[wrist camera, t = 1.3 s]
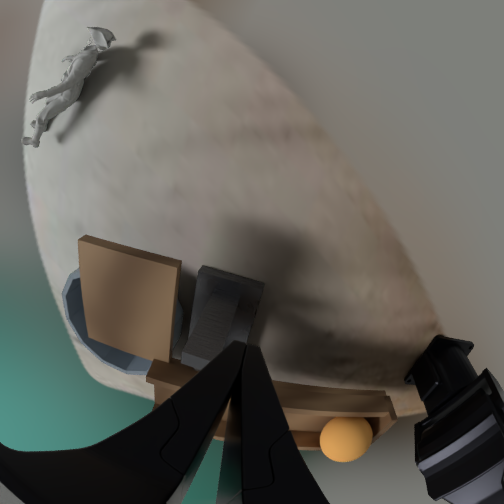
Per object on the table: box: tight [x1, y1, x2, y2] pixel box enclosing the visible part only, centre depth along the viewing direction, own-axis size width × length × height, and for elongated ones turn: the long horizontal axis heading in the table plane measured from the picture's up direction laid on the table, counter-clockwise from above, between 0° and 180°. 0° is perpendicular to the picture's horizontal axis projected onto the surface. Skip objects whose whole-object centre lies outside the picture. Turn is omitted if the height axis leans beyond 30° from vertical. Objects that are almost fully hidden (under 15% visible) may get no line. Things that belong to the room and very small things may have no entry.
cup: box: [62, 268, 183, 375], centre depth 22 cm, size 11×11×4 cm
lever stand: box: [181, 265, 264, 370], centre depth 20 cm, size 5×13×8 cm, turn 166°
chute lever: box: [78, 235, 398, 450], centre depth 15 cm, size 22×14×3 cm, turn 76°
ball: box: [320, 417, 373, 462], centre depth 16 cm, size 4×4×4 cm
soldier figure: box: [21, 27, 116, 148], centre depth 15 cm, size 8×5×12 cm
